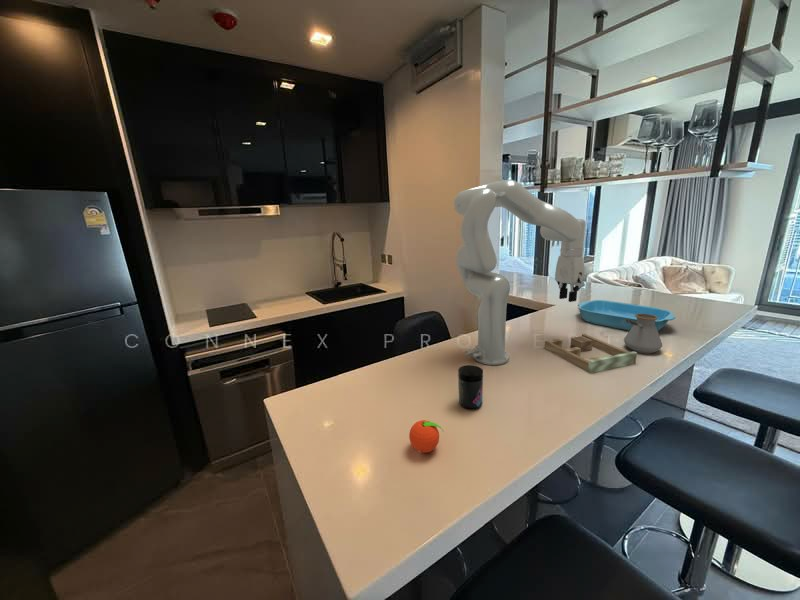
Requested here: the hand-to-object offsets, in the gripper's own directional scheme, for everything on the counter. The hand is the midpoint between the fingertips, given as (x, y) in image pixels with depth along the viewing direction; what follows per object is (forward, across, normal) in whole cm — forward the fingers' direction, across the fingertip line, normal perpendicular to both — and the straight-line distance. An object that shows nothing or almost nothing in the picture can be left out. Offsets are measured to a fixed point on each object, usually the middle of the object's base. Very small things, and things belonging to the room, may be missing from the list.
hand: (567, 299), depth 128 cm
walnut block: (+18, +8, 0) cm, 19 cm away
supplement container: (+18, +27, -56) cm, 65 cm away
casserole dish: (+18, -7, +37) cm, 42 cm away
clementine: (+18, +40, -74) cm, 86 cm away
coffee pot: (+18, +19, +14) cm, 29 cm away
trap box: (+17, +14, -3) cm, 22 cm away
